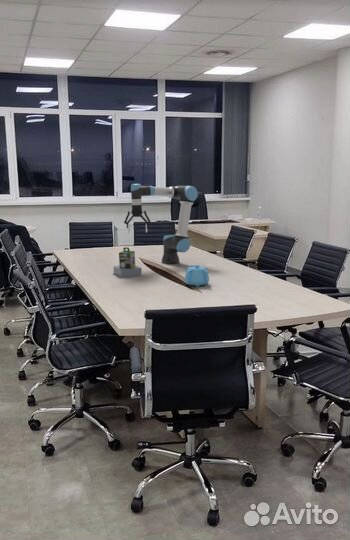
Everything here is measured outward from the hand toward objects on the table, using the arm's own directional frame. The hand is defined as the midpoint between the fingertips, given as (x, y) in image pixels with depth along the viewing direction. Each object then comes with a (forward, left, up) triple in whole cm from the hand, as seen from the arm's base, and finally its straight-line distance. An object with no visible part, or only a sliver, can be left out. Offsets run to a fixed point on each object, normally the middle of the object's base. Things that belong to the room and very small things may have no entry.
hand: (137, 232), depth 377 cm
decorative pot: (+67, +1, -30) cm, 74 cm away
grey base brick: (+9, -16, -30) cm, 35 cm away
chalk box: (+8, -16, -24) cm, 30 cm away
